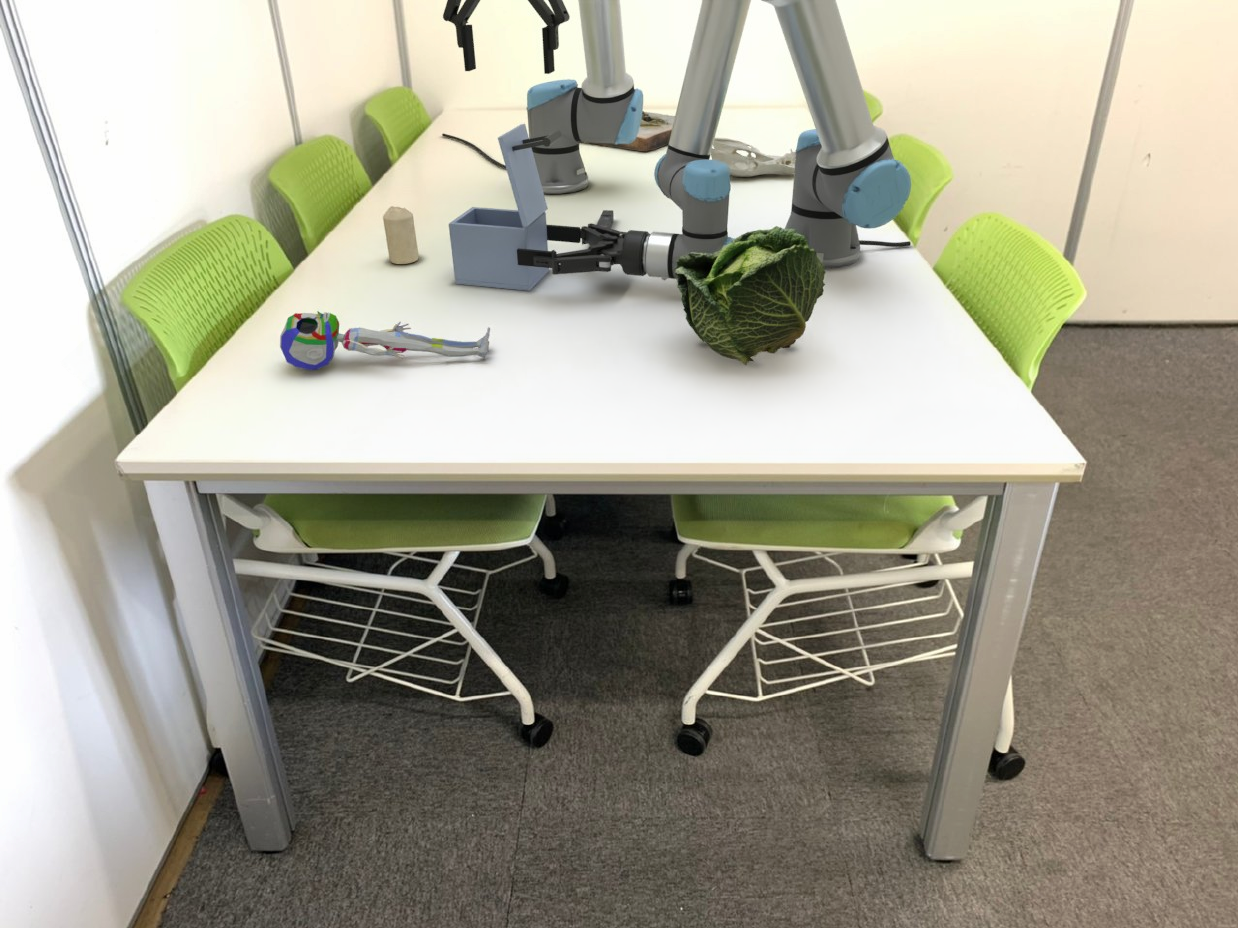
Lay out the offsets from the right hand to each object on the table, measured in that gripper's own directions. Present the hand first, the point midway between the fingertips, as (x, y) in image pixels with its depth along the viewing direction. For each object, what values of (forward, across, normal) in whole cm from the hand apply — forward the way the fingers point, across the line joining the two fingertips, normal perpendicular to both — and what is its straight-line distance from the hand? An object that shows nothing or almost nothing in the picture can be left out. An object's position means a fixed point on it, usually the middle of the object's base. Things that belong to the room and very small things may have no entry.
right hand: (532, 244), depth 159 cm
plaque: (+14, +116, -7) cm, 117 cm away
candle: (+28, +4, -7) cm, 29 cm away
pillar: (-4, +27, -7) cm, 28 cm away
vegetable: (-42, -20, -7) cm, 47 cm away
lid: (+1, 0, +12) cm, 12 cm away
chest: (+6, 0, -7) cm, 9 cm away
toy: (+9, -37, -7) cm, 39 cm away
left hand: (+2, 0, +28) cm, 28 cm away
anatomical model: (-25, +81, -7) cm, 85 cm away
